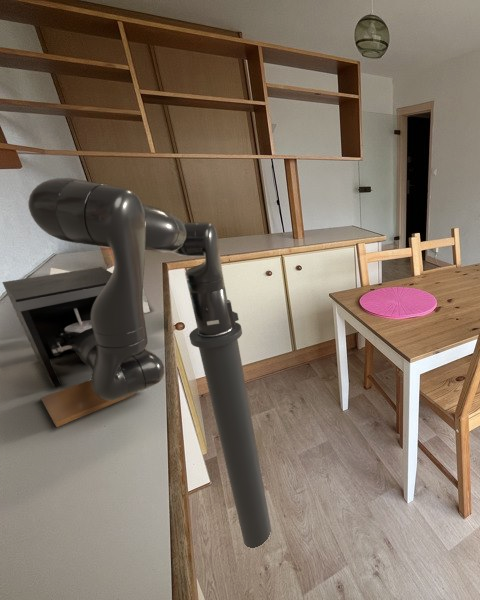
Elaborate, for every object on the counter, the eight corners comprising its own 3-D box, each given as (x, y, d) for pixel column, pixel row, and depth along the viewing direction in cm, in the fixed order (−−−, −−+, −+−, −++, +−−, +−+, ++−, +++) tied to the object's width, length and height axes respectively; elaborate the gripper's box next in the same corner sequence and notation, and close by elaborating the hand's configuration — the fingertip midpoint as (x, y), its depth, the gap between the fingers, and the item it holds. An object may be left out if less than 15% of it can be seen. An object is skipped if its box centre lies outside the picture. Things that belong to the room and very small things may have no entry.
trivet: (116, 374, 74) (114, 371, 74) (135, 394, 68) (133, 390, 67) (42, 401, 65) (40, 397, 64) (56, 427, 58) (54, 423, 58)
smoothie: (105, 350, 83) (88, 302, 78) (116, 357, 81) (99, 307, 75) (73, 361, 78) (52, 310, 73) (83, 369, 75) (62, 316, 70)
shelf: (124, 336, 91) (101, 266, 83) (147, 356, 82) (124, 279, 74) (38, 362, 78) (2, 282, 70) (55, 388, 69) (15, 299, 61)
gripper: (137, 322, 73) (113, 305, 82) (49, 346, 62) (32, 323, 71) (146, 350, 76) (121, 330, 84) (63, 378, 65) (45, 352, 73)
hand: (81, 327), depth 78 cm, fingers closed on smoothie, 6 cm apart
